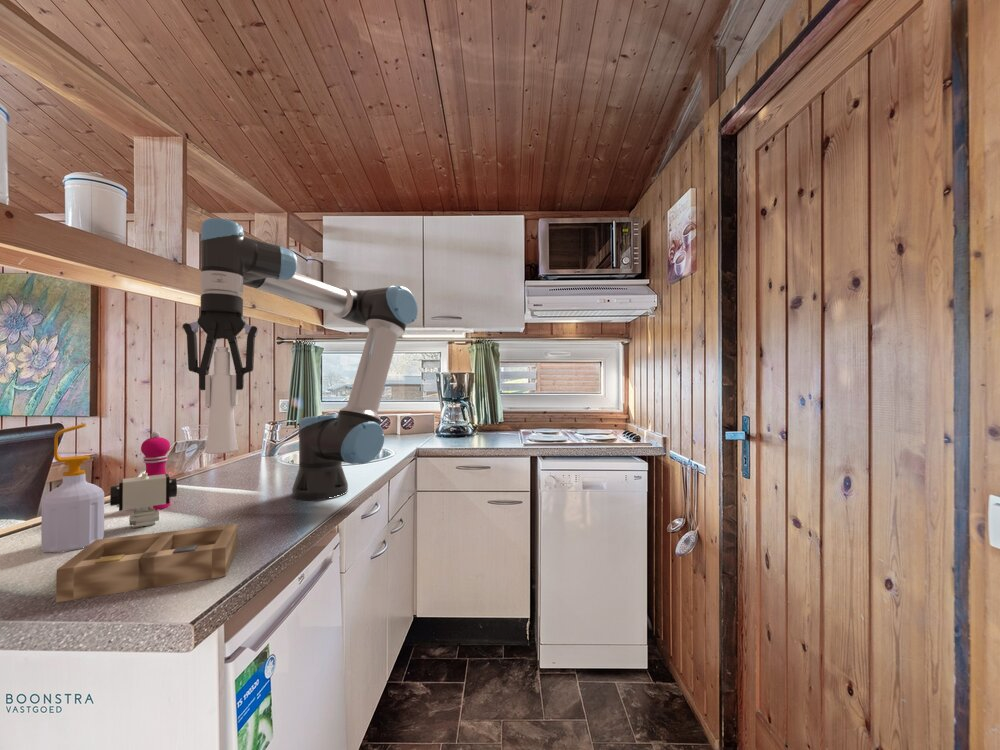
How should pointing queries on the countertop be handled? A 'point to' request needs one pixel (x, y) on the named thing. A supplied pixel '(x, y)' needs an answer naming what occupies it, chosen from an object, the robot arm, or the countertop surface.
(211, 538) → the wooden compartment tray
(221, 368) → the cosmetic bottle
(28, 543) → the countertop surface
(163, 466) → the pepper mill
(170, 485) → the pneumatic valve
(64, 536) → the soap bottle
